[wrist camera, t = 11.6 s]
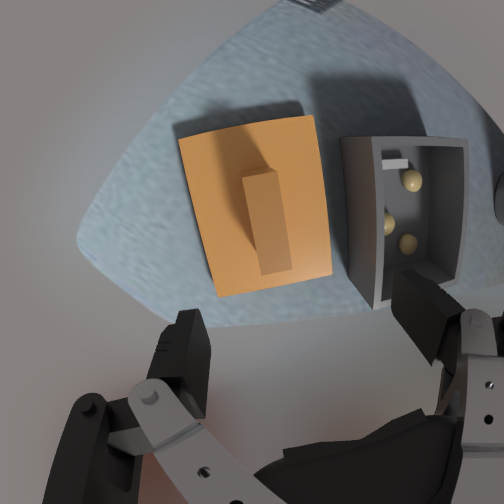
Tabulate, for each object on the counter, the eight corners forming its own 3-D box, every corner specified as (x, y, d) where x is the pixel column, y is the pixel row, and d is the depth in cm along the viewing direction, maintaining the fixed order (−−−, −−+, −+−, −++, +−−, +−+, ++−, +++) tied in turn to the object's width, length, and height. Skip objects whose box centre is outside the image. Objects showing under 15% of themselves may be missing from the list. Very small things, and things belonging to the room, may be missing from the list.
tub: (427, 136, 24) (467, 139, 18) (426, 259, 31) (457, 283, 24) (339, 137, 25) (371, 136, 18) (348, 277, 31) (373, 310, 24)
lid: (307, 117, 24) (331, 108, 17) (326, 265, 30) (348, 298, 24) (182, 139, 24) (164, 138, 18) (219, 287, 30) (215, 326, 24)
